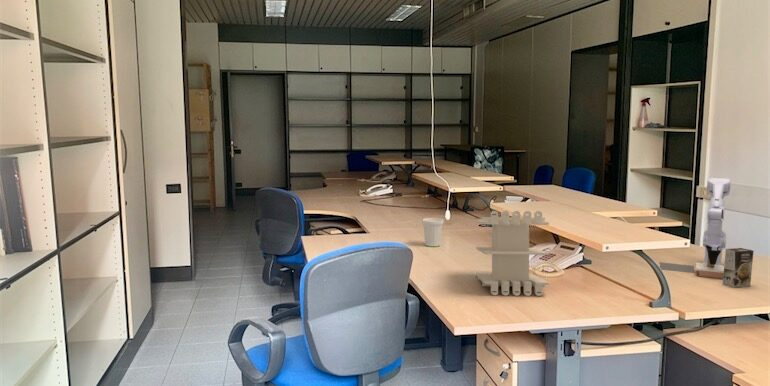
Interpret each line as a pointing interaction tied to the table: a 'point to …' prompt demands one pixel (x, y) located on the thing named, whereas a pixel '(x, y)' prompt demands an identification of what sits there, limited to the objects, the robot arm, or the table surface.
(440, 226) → the cup
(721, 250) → the robot arm
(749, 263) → the coffee box
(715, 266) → the lid
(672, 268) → the mat
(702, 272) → the open box
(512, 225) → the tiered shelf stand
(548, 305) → the table surface
